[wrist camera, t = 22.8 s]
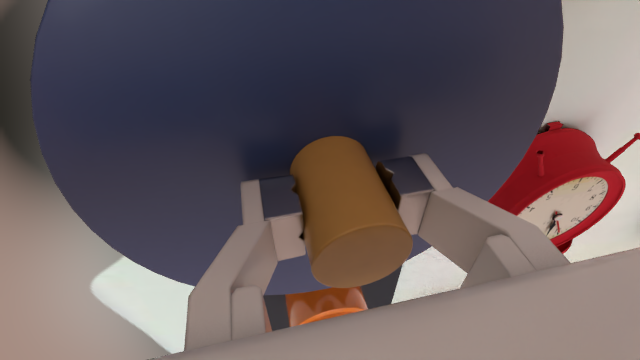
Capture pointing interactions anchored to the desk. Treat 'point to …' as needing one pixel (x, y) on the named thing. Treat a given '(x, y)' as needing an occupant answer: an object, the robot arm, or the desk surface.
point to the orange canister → (323, 304)
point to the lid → (282, 118)
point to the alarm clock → (562, 184)
